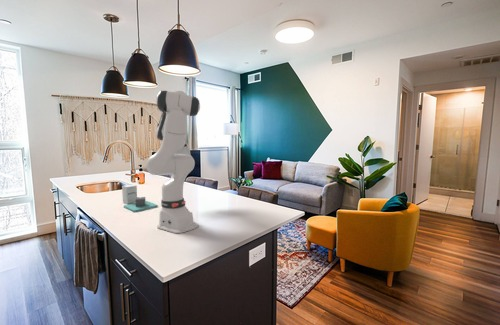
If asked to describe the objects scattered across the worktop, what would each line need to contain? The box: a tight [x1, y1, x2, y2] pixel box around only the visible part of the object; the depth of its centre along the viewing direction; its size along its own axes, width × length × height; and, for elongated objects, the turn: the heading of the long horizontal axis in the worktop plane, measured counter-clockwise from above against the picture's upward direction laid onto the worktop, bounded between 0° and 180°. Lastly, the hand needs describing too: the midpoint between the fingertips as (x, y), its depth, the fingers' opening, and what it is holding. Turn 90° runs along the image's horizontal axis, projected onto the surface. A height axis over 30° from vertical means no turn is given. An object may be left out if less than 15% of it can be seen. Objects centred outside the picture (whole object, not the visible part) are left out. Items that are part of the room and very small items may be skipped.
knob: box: [135, 196, 147, 207], centre depth 160 cm, size 6×6×5 cm
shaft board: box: [123, 200, 159, 213], centre depth 161 cm, size 16×16×4 cm
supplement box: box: [121, 184, 138, 205], centre depth 171 cm, size 7×7×13 cm
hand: (176, 163), depth 169 cm, fingers open, 8 cm apart
